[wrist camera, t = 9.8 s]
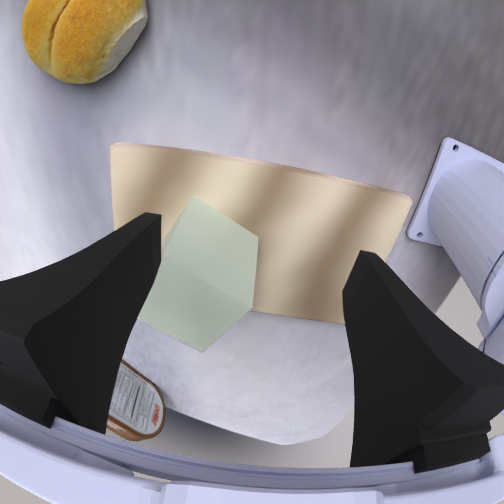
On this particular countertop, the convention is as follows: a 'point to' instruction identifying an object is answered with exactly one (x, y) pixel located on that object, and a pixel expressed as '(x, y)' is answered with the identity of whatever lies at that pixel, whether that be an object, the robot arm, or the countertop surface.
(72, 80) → the bread roll
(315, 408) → the countertop surface
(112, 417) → the tin
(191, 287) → the pale green block
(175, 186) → the board
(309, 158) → the countertop surface
